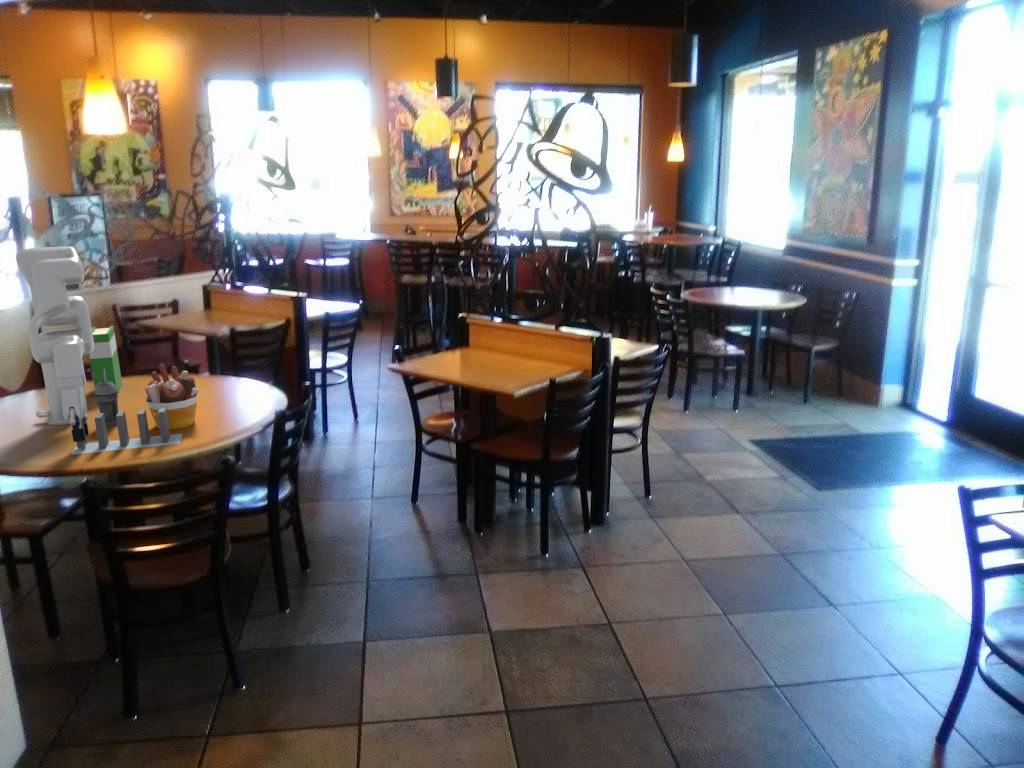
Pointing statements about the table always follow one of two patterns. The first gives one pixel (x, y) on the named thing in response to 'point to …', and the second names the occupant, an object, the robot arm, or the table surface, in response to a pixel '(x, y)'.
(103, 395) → the beverage cup
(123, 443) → the domino
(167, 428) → the domino
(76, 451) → the mat
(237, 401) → the table surface
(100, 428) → the domino
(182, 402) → the bucket of meat
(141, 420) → the domino
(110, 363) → the green tall box
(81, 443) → the domino
